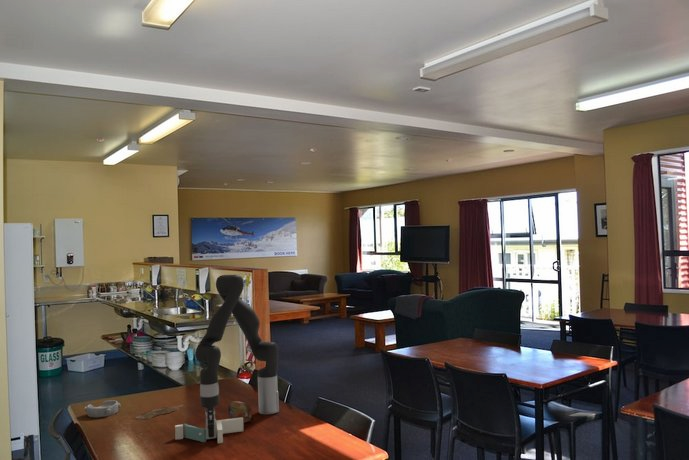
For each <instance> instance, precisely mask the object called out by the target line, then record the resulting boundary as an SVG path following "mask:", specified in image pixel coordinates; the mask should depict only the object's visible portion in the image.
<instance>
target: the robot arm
mask: <svg viewBox="0 0 689 460" xmlns="http://www.w3.org/2000/svg"><path fill="white" fill-rule="evenodd" d="M244 287H245V280H244V278H243V277H242V276H241V275H239V274H222V275H219V276H218V277H217V278H216V281H215V288H216V290H217V292H218V294H219V296H220V298H221V299H222V300H223V303H222V304H221V306H220V307H219V308H218V309H217V310H216V311H215V313H214V314H213V315H212V317H211V319H210V321H209V324H208V326H207V329H206V332H205V334H204V335H203V337H202V338H201V340H200V342H199V344H198V345H197V347H196V349H195V353H194V354H195V359H196V361H197V362H200V363H207V367H204V368H202V369H201V370H200V372H199V377H200V378H199V380H200V381H199V383H200V386H199V397H200V399H199V400H200V407H202V408H205V410H204V411H205V412H204V413H205V419H206V420H205V423H206V422H207V423H208V436H209V438H210V437H214V422H215V419H216V408H215V407H217V406H219V404H220V388H219V387H220V386H219V379H218V378H219V376H218V371H219V366H220V362H221V356H222V352H221V349H220V347H219V346H217V345H214V344H215V343H217V342H221V341H222V339H223V336H224V333H225V331H226V327H227V325H228V321H229V319H230V317H231V314H232V316H233V317H234V319H235V320H236V323H237V324H238V327H239V328H240V330H241V332H242V334H243V335H244V337H245V338H246V341H247V342H248V345H249V347H250V350H251V353H252V355H253V357H254V359H255V360H257V361H259V362H265V366H264V367H263V368H262V367H261V368H259V369H258V370H257V391H258V393H257V394H258V398H257V399H258V400H257V401H258V413H259V414H260V415H273V414H277V413H279V412H280V407H279V405H280V403H279V401H280V399H279V391H278V389H279V388H278V370H279V346H278V345H277V343H276V342H275V341H263V340H262V339H261V337H260V335H259V329H260V320H259V317H258V315H257V313H256V312H255V310H254V309H253V308H252V306H251V305H250V304H248V303H247V302H246V301H244V300H243V299H242V298H240V297H241V296H242V294H243V293H242V292H243V290H244ZM211 423H213V425H209V424H211Z"/></svg>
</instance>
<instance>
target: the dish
mask: <svg viewBox="0 0 689 460" xmlns="http://www.w3.org/2000/svg"><path fill="white" fill-rule="evenodd" d="M121 406H122V405H121V403H120V402H118V401H117V400H114V399H113V400H112V399H111V400H110V399H109V400H104V401H103V402H102V404H101V405H99V406H94V405H92V404H87V406H85V407H84V411H85V412H86V414H87V416H88V417H90V418H103V417H104V418H105V417H109V416H113V415H115V414H116V413H117V414H118V412H119V410H120V408H121Z"/></svg>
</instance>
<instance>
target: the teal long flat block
mask: <svg viewBox="0 0 689 460" xmlns="http://www.w3.org/2000/svg"><path fill="white" fill-rule="evenodd" d="M183 438H185V439H189V440H192V441H193V440H194V441H196V442H201V443H206V442H207V439H206V428H202V427H198V426H194V425H190V424H187V423H183Z"/></svg>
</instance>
